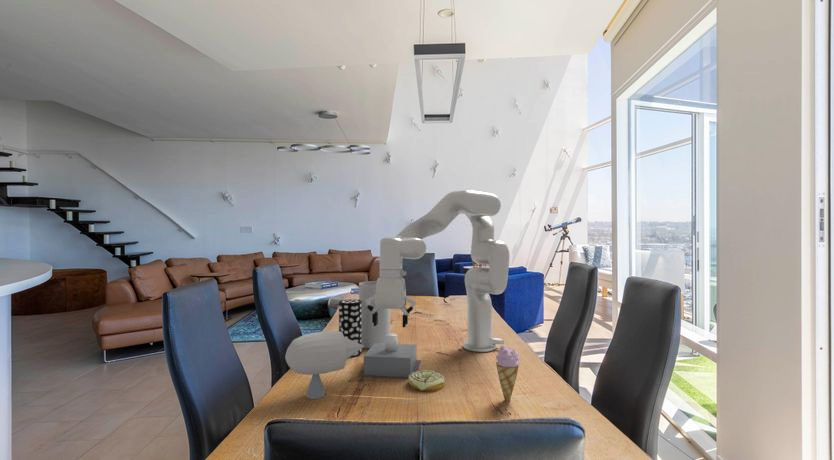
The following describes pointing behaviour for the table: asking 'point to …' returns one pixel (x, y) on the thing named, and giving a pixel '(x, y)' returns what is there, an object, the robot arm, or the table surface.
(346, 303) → the spotted tube
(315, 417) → the table surface
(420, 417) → the table surface
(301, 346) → the jet engine
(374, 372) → the lid
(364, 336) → the cylinder vase
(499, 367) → the ice cream cone
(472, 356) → the table surface
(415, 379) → the decorated donut
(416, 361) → the rubber mat
